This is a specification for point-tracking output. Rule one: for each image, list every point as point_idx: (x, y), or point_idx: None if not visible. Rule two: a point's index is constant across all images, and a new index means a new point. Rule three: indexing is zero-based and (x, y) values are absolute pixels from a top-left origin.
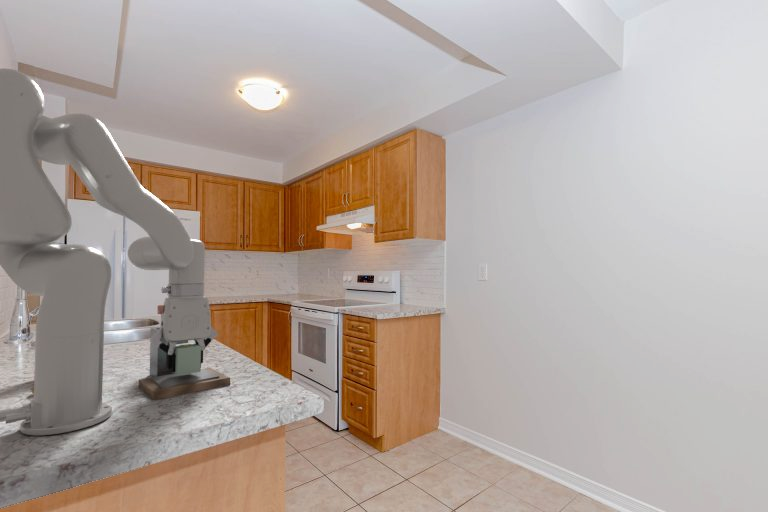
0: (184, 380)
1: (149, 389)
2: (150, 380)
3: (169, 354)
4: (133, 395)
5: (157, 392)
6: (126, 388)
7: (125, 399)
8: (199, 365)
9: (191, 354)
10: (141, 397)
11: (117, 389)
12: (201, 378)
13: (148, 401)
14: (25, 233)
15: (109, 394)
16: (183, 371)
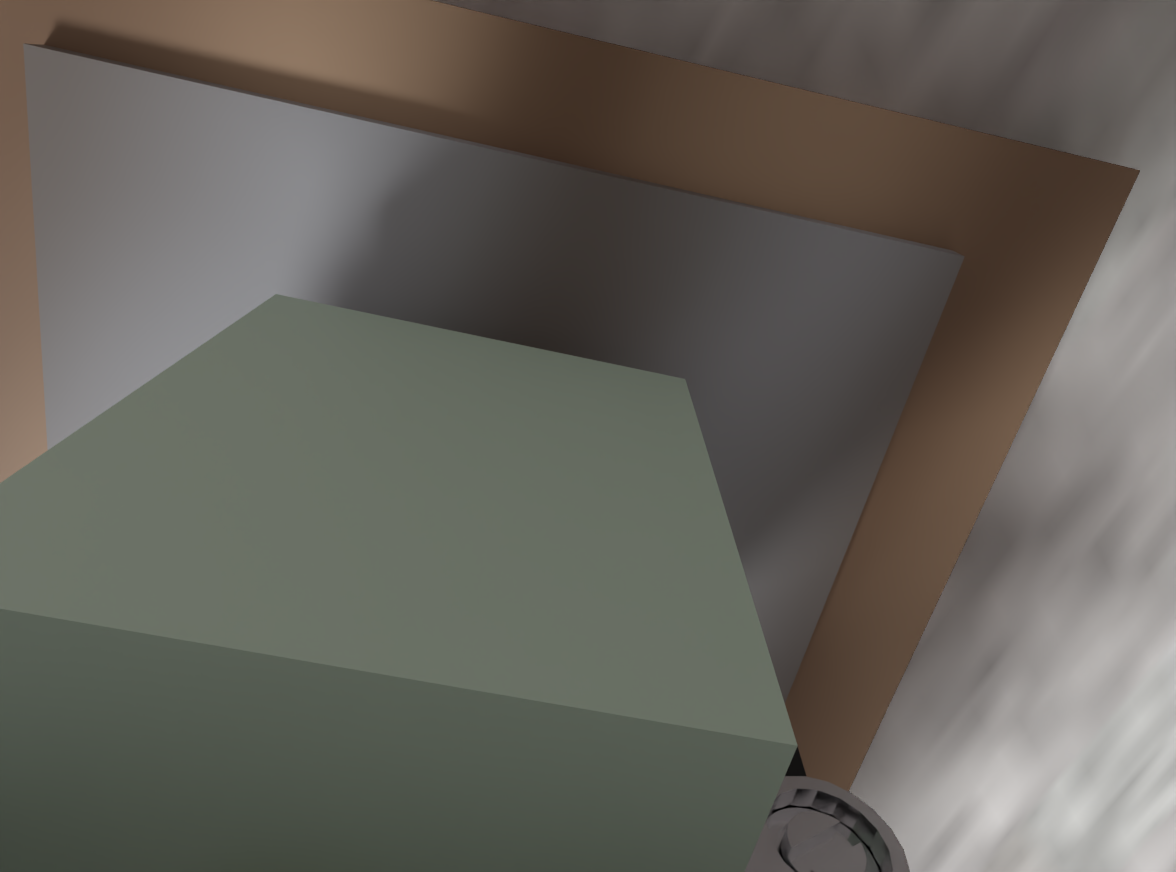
0: (568, 316)
1: (1021, 407)
2: None
3: (840, 799)
4: (1027, 555)
5: (1082, 160)
6: (890, 822)
7: (1167, 485)
8: (250, 331)
9: (352, 500)
10: (1046, 410)
11: (951, 851)
12: (328, 185)
13: (1134, 167)
14: None
15: (1096, 765)
16: (581, 377)
